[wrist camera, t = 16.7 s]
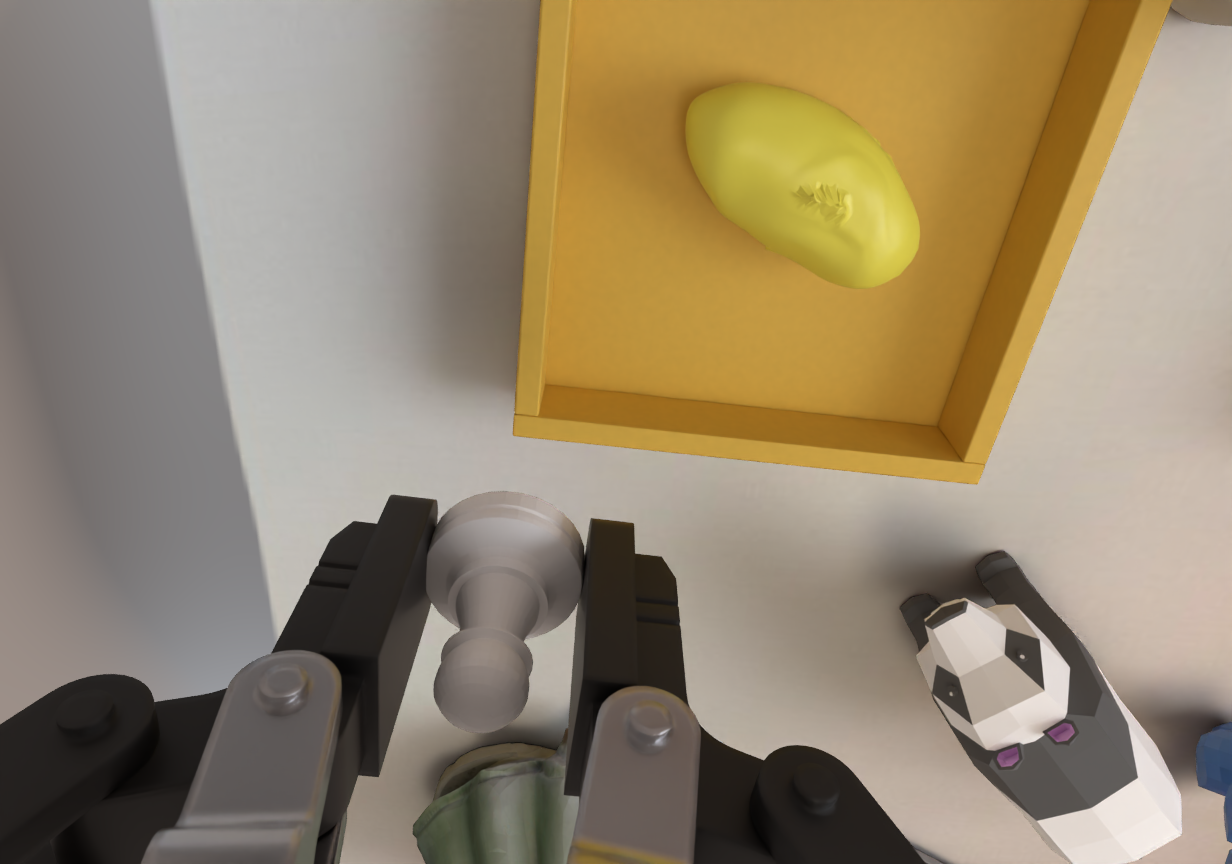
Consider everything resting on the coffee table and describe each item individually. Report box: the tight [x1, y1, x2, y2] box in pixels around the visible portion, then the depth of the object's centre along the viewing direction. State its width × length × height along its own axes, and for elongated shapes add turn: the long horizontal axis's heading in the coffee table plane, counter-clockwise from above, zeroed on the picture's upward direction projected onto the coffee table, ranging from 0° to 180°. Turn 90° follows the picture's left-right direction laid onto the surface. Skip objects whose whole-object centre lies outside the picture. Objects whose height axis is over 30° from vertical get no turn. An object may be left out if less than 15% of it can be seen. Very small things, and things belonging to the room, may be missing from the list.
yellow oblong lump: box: [685, 82, 920, 289], centre depth 23 cm, size 4×8×4 cm, turn 52°
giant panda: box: [900, 551, 1182, 864], centre depth 29 cm, size 15×6×10 cm, turn 40°
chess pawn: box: [426, 491, 585, 733], centre depth 12 cm, size 3×3×4 cm
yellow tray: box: [513, 0, 1173, 484], centre depth 23 cm, size 18×16×3 cm
